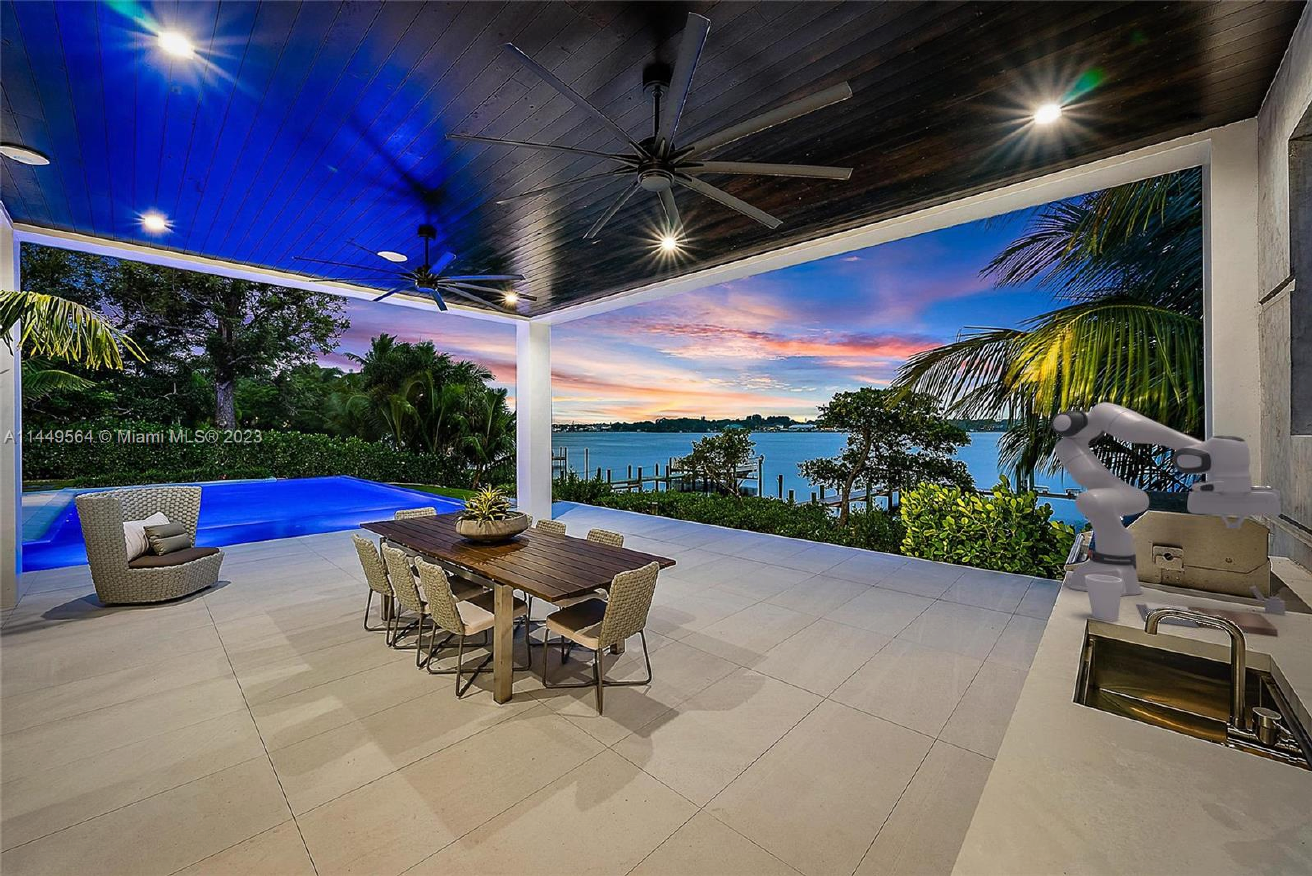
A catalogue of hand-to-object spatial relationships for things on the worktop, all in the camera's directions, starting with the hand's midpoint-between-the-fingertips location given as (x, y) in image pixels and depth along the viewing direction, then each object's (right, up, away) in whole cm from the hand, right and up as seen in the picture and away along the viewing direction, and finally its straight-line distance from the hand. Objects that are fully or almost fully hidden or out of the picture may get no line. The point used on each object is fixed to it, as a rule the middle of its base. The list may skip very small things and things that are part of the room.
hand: (1233, 528), depth 167 cm
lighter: (+12, -28, +1) cm, 30 cm away
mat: (-20, -29, +2) cm, 35 cm away
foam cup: (-38, -30, +4) cm, 49 cm away
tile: (-20, -29, +2) cm, 35 cm away
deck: (-8, -28, -6) cm, 30 cm away
